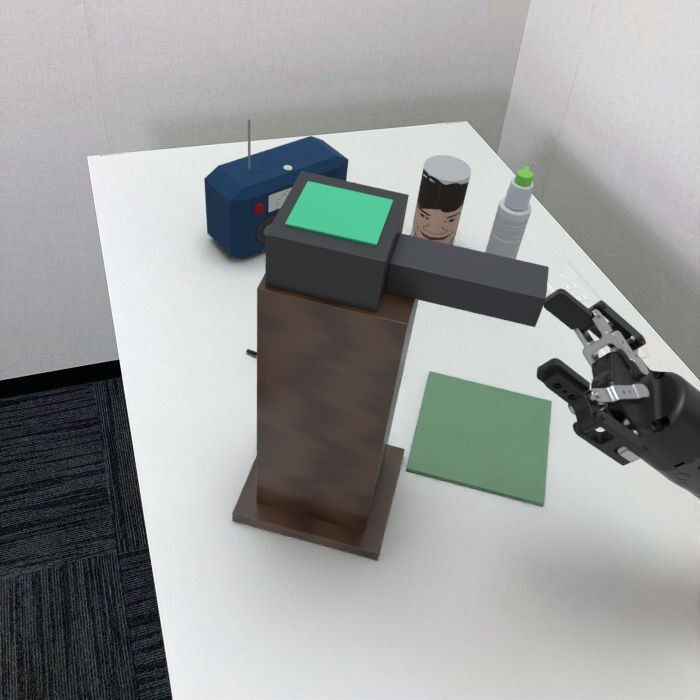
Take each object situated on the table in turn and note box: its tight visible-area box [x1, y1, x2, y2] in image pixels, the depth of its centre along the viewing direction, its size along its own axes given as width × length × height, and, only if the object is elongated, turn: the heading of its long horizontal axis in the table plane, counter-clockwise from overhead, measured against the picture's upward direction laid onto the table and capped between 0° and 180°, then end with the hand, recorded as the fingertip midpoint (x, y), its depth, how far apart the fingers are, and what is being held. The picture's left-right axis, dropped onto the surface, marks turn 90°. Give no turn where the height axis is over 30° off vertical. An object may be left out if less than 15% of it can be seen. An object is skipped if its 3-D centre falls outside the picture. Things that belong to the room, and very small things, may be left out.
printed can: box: [410, 154, 472, 245], centre depth 109 cm, size 7×7×15 cm
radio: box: [203, 118, 349, 259], centre depth 107 cm, size 21×9×20 cm, turn 129°
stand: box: [231, 273, 420, 561], centre depth 71 cm, size 16×14×32 cm
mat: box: [405, 370, 553, 507], centre depth 90 cm, size 16×16×1 cm
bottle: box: [484, 165, 534, 259], centre depth 102 cm, size 4×4×20 cm
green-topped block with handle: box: [264, 171, 550, 328], centre depth 57 cm, size 21×9×5 cm, turn 76°
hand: (548, 329), depth 59 cm, fingers open, 8 cm apart
